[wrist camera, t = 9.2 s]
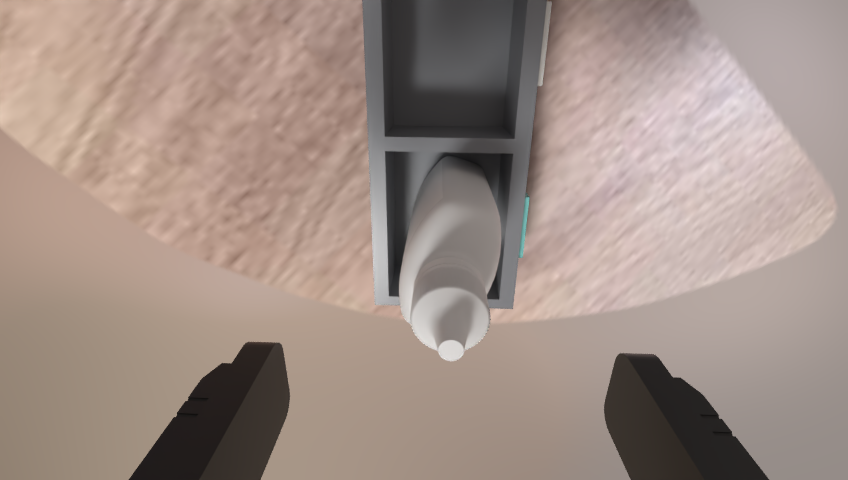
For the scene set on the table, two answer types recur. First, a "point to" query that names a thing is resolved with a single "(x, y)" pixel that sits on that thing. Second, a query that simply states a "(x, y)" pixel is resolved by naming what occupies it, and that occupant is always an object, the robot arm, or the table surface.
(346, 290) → the table surface
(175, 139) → the table surface
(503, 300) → the block
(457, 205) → the eye dropper bottle
